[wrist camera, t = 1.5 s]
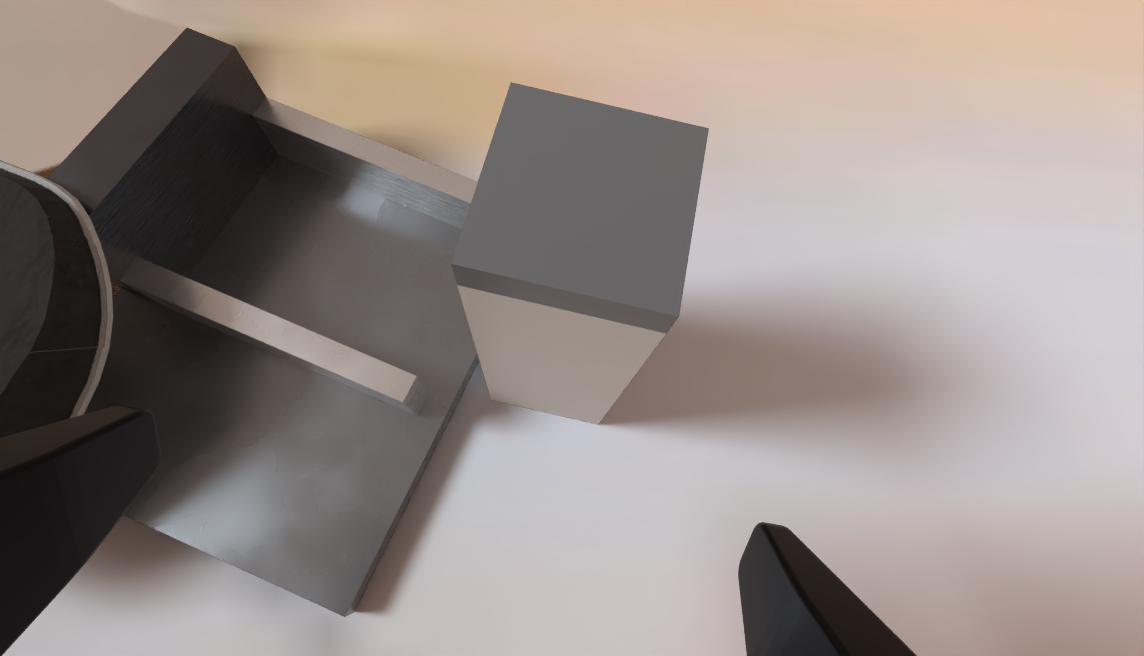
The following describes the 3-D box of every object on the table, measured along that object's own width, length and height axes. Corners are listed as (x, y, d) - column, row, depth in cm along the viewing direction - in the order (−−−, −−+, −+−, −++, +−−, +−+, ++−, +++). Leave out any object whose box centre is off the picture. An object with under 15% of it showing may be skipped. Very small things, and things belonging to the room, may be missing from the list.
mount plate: (534, 247, 25) (537, 166, 19) (354, 612, 19) (281, 650, 13) (262, 137, 25) (186, 27, 20) (15, 456, 20) (-187, 431, 14)
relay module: (619, 319, 24) (709, 123, 12) (598, 424, 22) (678, 316, 10) (519, 296, 24) (512, 77, 12) (491, 399, 22) (450, 263, 10)
